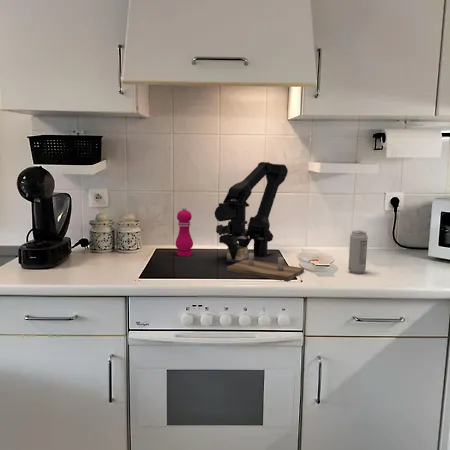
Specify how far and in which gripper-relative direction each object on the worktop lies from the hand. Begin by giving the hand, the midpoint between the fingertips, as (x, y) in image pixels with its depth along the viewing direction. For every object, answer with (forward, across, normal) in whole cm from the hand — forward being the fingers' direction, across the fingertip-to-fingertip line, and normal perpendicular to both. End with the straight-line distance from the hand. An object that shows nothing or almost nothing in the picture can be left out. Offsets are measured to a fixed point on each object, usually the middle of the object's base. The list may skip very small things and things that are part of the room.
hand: (237, 257), depth 194 cm
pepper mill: (+1, +4, -23) cm, 23 cm away
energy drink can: (+1, -9, +45) cm, 46 cm away
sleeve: (+1, 0, 0) cm, 1 cm away
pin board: (+1, +9, +17) cm, 19 cm away
